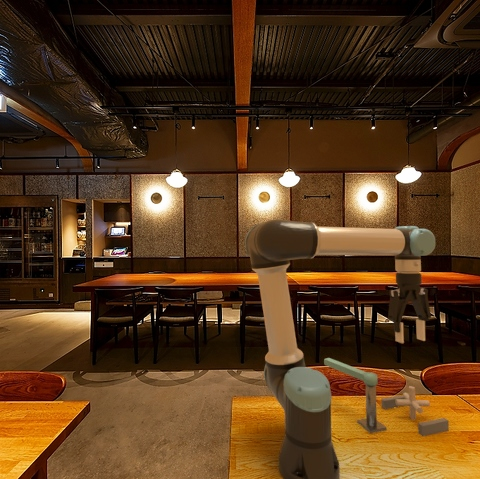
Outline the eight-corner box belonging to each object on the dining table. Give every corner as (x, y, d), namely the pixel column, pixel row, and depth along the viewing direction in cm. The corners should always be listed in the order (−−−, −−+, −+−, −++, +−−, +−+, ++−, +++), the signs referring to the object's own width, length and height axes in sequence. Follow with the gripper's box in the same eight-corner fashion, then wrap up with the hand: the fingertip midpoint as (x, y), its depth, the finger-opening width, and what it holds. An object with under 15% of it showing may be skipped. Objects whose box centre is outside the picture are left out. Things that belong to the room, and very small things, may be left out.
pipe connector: (421, 410, 102) (420, 381, 103) (437, 427, 93) (436, 395, 93) (390, 409, 103) (390, 380, 104) (403, 426, 94) (402, 394, 94)
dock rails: (422, 436, 89) (422, 425, 89) (381, 407, 105) (381, 398, 105) (448, 430, 91) (448, 420, 91) (404, 403, 108) (404, 394, 108)
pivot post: (370, 433, 90) (369, 388, 91) (357, 422, 96) (356, 380, 96) (386, 430, 92) (385, 386, 92) (373, 419, 98) (372, 378, 98)
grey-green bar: (380, 383, 94) (379, 375, 94) (372, 386, 92) (372, 378, 92) (330, 363, 111) (330, 356, 111) (322, 365, 109) (322, 358, 109)
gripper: (390, 274, 93) (392, 347, 93) (442, 272, 99) (445, 341, 98) (374, 272, 101) (375, 340, 100) (423, 270, 106) (425, 335, 105)
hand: (410, 340), depth 99 cm, fingers open, 8 cm apart
